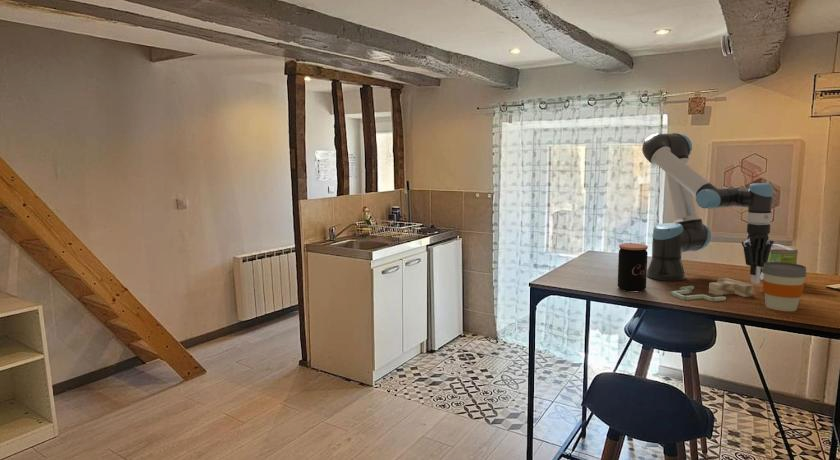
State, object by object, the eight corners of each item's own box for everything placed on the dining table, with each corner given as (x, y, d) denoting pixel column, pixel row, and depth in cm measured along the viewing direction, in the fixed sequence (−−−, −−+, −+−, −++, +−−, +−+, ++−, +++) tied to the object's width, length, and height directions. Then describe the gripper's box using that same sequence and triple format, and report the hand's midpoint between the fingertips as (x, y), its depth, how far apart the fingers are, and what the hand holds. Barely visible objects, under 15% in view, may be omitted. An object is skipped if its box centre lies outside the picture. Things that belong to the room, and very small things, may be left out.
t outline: (692, 288, 205) (692, 285, 204) (725, 300, 188) (726, 297, 188) (661, 291, 202) (661, 288, 201) (693, 303, 185) (693, 300, 185)
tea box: (795, 285, 207) (798, 249, 204) (768, 284, 209) (770, 249, 206) (777, 276, 221) (780, 243, 219) (752, 275, 223) (754, 242, 221)
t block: (725, 287, 206) (726, 277, 205) (752, 295, 193) (753, 285, 193) (700, 289, 203) (700, 279, 203) (726, 298, 191) (726, 288, 190)
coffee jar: (633, 294, 199) (635, 248, 196) (611, 288, 208) (613, 244, 206) (651, 290, 204) (653, 246, 201) (629, 284, 213) (631, 242, 210)
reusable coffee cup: (764, 311, 175) (768, 268, 173) (755, 301, 186) (758, 261, 184) (808, 314, 170) (812, 270, 168) (796, 303, 182) (800, 262, 180)
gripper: (753, 225, 192) (749, 286, 195) (781, 223, 195) (777, 283, 198) (736, 223, 199) (733, 281, 202) (764, 221, 202) (760, 279, 205)
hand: (755, 282), depth 200 cm, fingers closed
